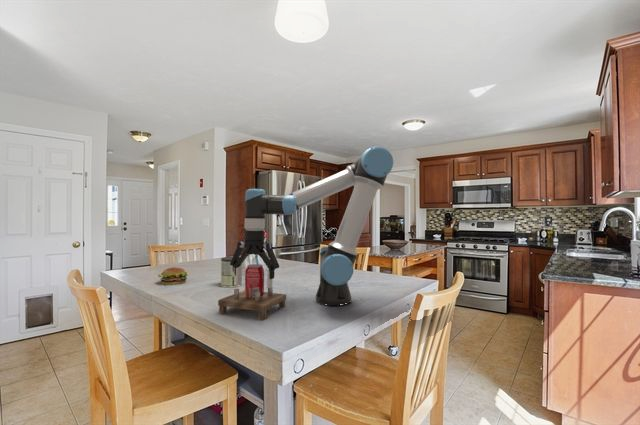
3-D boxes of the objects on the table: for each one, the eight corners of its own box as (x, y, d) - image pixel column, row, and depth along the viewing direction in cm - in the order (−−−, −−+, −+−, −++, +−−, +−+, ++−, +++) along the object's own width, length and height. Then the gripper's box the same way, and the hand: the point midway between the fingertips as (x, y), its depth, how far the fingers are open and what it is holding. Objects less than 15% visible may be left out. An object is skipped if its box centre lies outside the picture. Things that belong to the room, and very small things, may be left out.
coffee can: (225, 282, 164) (226, 256, 165) (244, 283, 163) (244, 256, 164) (217, 287, 154) (217, 259, 154) (237, 288, 153) (237, 259, 153)
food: (157, 281, 166) (157, 266, 166) (185, 279, 173) (186, 265, 173) (157, 286, 154) (158, 270, 154) (188, 284, 161) (188, 268, 161)
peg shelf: (286, 307, 121) (286, 285, 122) (263, 320, 105) (263, 295, 106) (245, 302, 128) (245, 281, 128) (218, 313, 112) (218, 290, 112)
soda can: (257, 293, 122) (257, 263, 122) (267, 297, 117) (268, 265, 117) (241, 296, 117) (241, 265, 117) (251, 300, 112) (251, 267, 112)
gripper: (288, 230, 116) (287, 286, 116) (233, 228, 125) (232, 281, 125) (279, 231, 109) (278, 291, 109) (221, 229, 118) (220, 284, 118)
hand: (253, 285), depth 117 cm, fingers open, 13 cm apart
